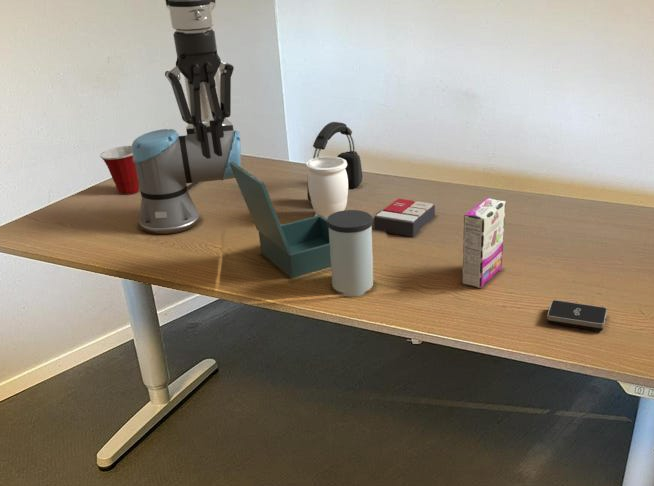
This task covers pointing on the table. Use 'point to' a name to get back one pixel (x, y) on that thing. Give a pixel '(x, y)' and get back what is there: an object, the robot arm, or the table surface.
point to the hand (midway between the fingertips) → (212, 155)
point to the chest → (301, 247)
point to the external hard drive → (577, 315)
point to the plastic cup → (122, 169)
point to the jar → (328, 185)
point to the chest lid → (260, 206)
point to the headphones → (351, 157)
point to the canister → (351, 252)
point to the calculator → (404, 217)
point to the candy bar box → (483, 242)
